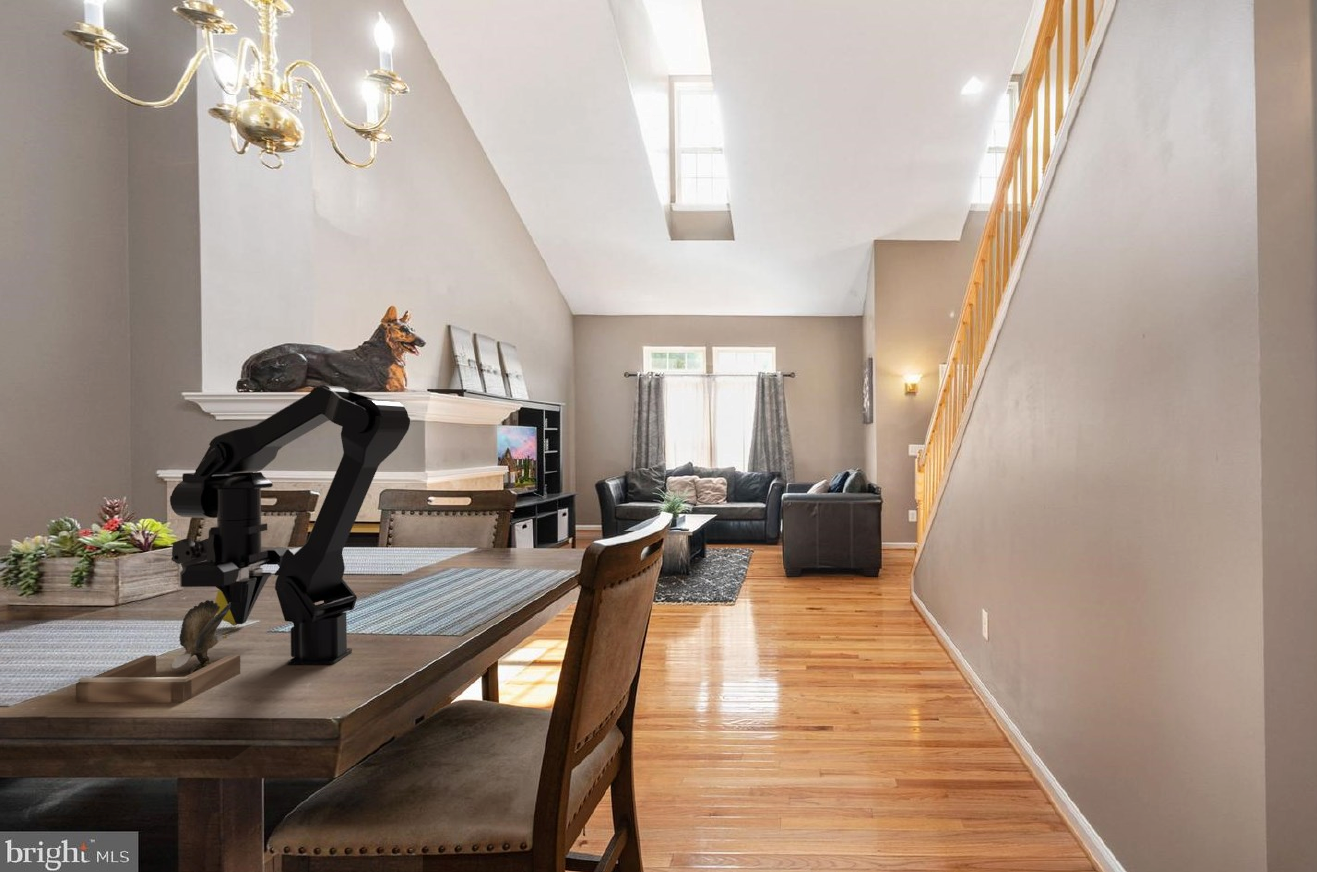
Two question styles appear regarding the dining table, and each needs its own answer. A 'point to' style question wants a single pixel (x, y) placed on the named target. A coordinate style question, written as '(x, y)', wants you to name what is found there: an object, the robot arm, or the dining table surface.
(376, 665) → the dining table surface
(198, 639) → the eagle figurine
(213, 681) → the wooden tray
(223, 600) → the lemon
